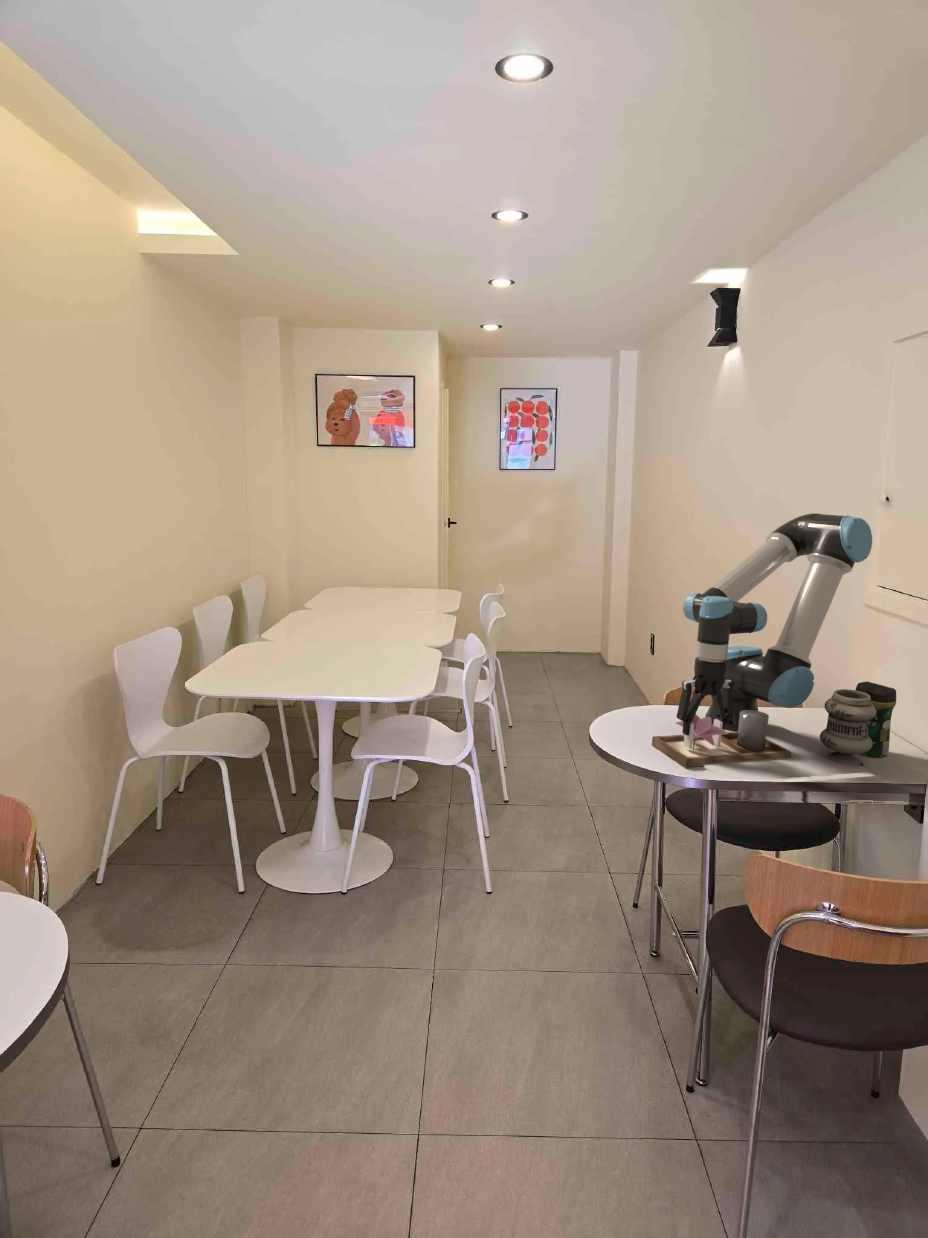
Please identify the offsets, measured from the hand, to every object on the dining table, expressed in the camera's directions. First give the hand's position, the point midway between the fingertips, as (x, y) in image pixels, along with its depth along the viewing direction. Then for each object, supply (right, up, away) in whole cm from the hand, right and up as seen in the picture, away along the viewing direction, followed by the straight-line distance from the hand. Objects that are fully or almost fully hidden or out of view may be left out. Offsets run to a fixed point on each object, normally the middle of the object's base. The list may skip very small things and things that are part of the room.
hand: (701, 745), depth 203 cm
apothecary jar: (+36, -4, 0) cm, 36 cm away
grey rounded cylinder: (+14, -1, +4) cm, 15 cm away
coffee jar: (+46, -3, +8) cm, 47 cm away
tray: (+5, -2, +2) cm, 6 cm away
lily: (-1, 0, 0) cm, 1 cm away
